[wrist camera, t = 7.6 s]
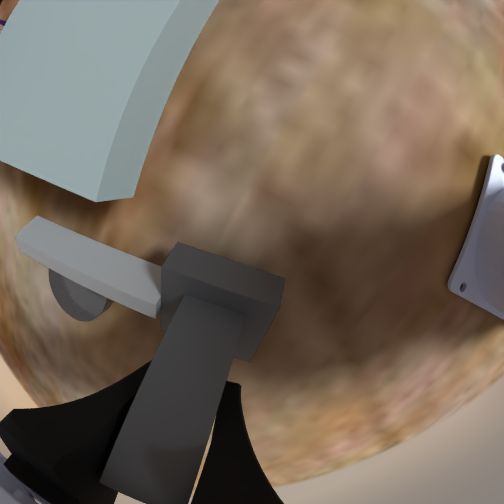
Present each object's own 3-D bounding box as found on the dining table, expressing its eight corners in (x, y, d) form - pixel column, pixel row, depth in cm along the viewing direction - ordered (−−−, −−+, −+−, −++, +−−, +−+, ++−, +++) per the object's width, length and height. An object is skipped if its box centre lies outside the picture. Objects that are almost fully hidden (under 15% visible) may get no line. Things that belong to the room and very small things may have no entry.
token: (123, 262, 14) (111, 269, 12) (108, 325, 15) (97, 334, 13) (67, 229, 14) (54, 232, 12) (57, 290, 15) (46, 297, 13)
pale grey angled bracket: (258, -10, 9) (246, -79, 4) (167, 193, 12) (95, 201, 7) (94, -10, 9) (51, -43, 4) (23, 144, 12) (-39, 143, 7)
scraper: (284, 278, 11) (227, 531, 4) (255, 337, 14) (207, 513, 7) (32, 189, 11) (-84, 306, 4) (46, 251, 14) (-38, 360, 7)
